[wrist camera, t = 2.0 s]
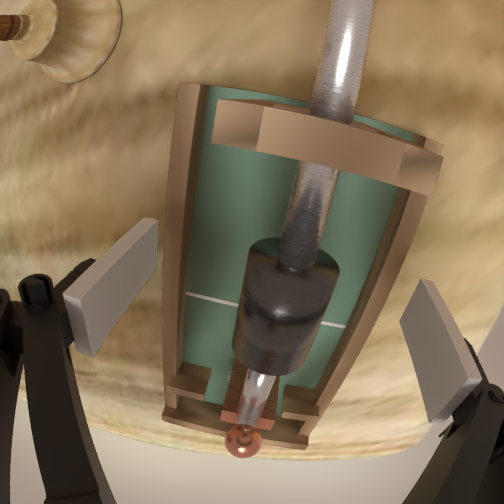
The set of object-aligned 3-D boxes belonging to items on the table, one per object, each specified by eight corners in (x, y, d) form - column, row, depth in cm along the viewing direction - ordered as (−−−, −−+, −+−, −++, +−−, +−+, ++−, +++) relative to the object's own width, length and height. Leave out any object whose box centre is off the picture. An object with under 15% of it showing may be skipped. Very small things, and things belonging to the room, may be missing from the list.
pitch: (174, 389, 32) (139, 480, 22) (196, 84, 18) (81, 79, 7) (306, 417, 32) (300, 513, 21) (423, 137, 17) (541, 191, 7)
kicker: (239, 329, 24) (207, 456, 14) (314, -47, 12) (325, -163, 2) (282, 337, 24) (268, 467, 14) (371, -33, 11) (434, -131, 2)
